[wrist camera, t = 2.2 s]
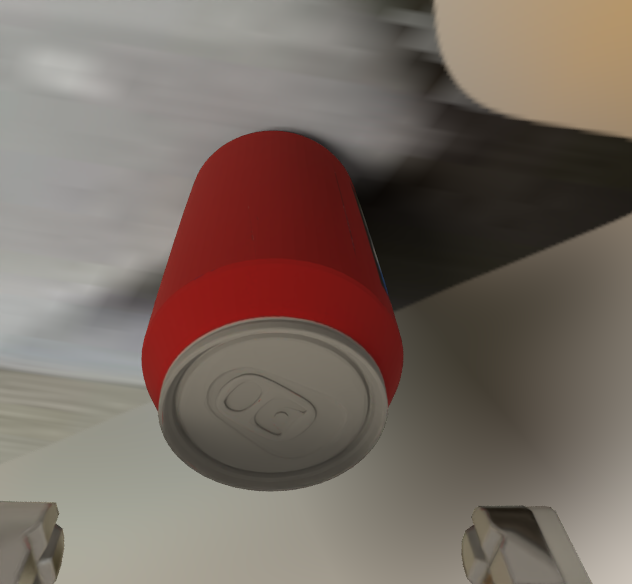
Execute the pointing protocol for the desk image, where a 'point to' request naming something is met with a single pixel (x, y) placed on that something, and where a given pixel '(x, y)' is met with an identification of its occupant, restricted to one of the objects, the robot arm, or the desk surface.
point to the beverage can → (272, 321)
